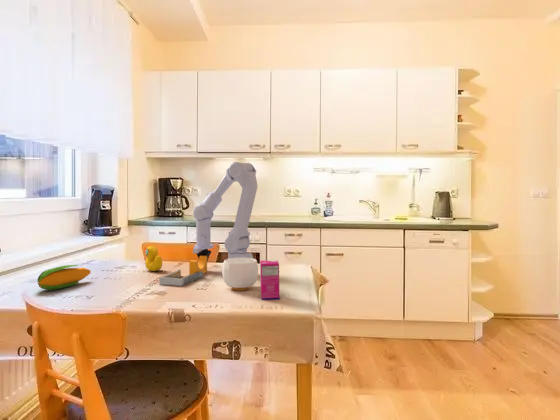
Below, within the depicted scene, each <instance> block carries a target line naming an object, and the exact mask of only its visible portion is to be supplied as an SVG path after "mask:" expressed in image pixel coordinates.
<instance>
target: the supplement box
mask: <svg viewBox="0 0 560 420" xmlns="http://www.w3.org/2000/svg"><path fill="white" fill-rule="evenodd" d="M259 264H260V265H259V270H260V273H259V275H260V276H259V277H260V296H261V300H262V301H266V300H267V301H269V300H270V301H271V300H275V301H277V300H280V299H281V298H280V263H279V261H278V260H277V259H271V260H269V259H268V260H265V259H264V260H260V263H259Z"/></svg>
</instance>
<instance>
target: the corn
mask: <svg viewBox="0 0 560 420" xmlns="http://www.w3.org/2000/svg"><path fill="white" fill-rule="evenodd" d="M77 266H79V265H78V264H68V265H67V264H66V265H61V266H57V267H52V268H49V269H46V270H44V271H42V272H41V273H40V275H39V276H38V277H37V284H38V286H39V288H40V289H42V290H47V291H55V290H59V289H60V290H61V289H64V288H69V287H72V286H75V285H78V284H79V283H80V281H82V280H84V279H85V278H86V277H88V276H89V275H90V274H91V270H90V269H88V268H86V267H77Z"/></svg>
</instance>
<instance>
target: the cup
mask: <svg viewBox="0 0 560 420" xmlns="http://www.w3.org/2000/svg"><path fill="white" fill-rule="evenodd" d="M258 264H259V263H258V261H257V259H255V258H253V259H252V258H230V259H228V258H226V259H224V260H223V263H222V267H221V271H222V272H221V274H222V278H223V282H224V283H225V285H226V286H227V287H229V288H231V289H232V290H233V291H247V290H249V289H250V288H251V287H253V286H254V285H255V284H256V282H257V280H258V275H259V265H258Z"/></svg>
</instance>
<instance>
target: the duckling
mask: <svg viewBox="0 0 560 420" xmlns="http://www.w3.org/2000/svg"><path fill="white" fill-rule="evenodd" d="M144 254H145V256H146V259H145V261H144V264H145V268H146V269H147V270H148V271H150V272H157V271H160V270H161V269H162V267H163V259H162V257H161V256H159V255H158V254H159V251H158V248H157V247H156V246H151V245H150V246H147V247H145V248H144Z"/></svg>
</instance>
